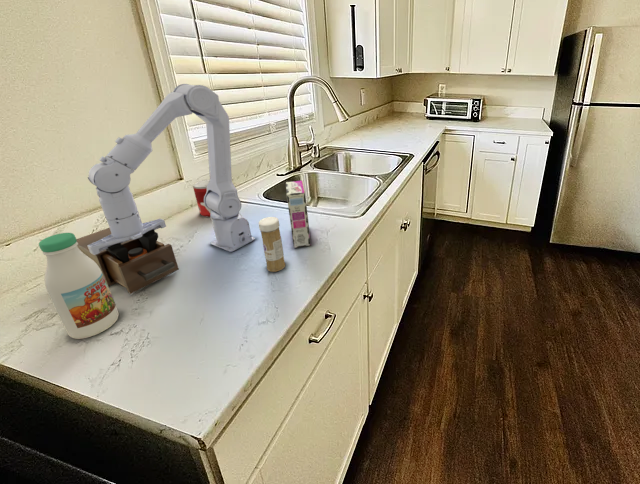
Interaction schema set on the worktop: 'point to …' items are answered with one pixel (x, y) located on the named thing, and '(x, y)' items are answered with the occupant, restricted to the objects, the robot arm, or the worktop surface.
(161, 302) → the worktop surface
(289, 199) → the candy bar box
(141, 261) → the drawer
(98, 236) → the cabinet
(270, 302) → the worktop surface
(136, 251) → the orange cylinder
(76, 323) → the milk bottle
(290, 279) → the worktop surface
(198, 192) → the red coffee cup
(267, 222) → the sprinkles bottle
